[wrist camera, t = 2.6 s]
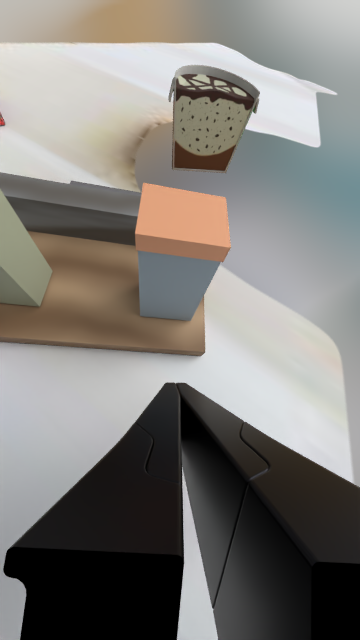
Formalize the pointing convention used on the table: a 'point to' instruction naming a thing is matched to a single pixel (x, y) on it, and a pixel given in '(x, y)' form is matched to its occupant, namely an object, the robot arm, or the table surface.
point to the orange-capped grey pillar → (178, 249)
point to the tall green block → (20, 261)
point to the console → (88, 274)
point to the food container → (209, 117)
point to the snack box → (1, 120)
